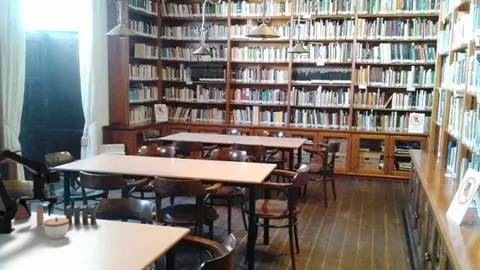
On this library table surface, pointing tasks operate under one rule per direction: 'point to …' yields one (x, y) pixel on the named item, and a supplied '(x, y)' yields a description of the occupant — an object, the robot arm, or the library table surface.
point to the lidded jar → (56, 227)
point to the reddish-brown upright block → (21, 213)
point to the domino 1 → (39, 214)
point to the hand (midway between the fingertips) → (40, 216)
